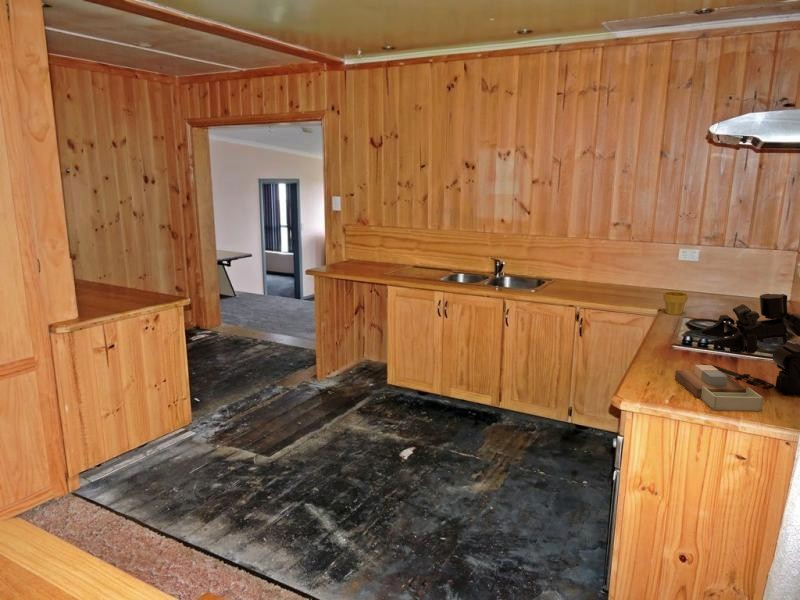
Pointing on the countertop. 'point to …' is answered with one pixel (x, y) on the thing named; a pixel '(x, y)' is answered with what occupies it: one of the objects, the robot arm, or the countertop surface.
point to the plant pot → (675, 302)
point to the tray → (733, 400)
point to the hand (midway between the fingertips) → (707, 337)
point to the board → (695, 384)
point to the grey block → (714, 378)
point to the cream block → (703, 369)
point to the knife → (740, 377)
